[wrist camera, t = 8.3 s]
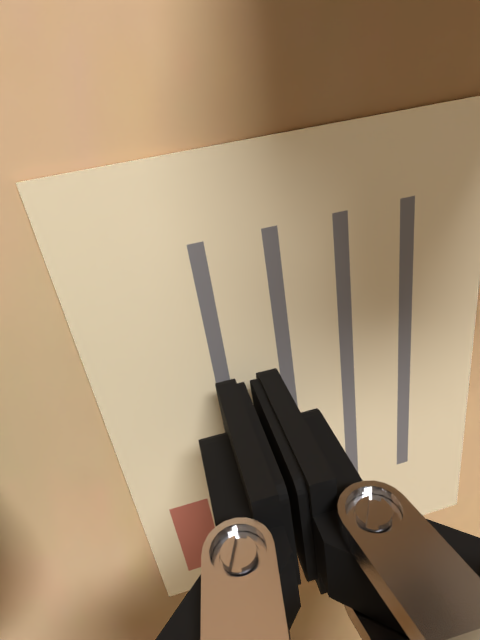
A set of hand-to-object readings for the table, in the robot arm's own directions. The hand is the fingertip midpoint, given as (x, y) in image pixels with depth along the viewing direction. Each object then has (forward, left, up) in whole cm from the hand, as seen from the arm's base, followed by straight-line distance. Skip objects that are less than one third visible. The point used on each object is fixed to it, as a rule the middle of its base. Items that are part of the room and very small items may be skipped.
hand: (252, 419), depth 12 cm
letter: (-2, 0, -1) cm, 2 cm away
